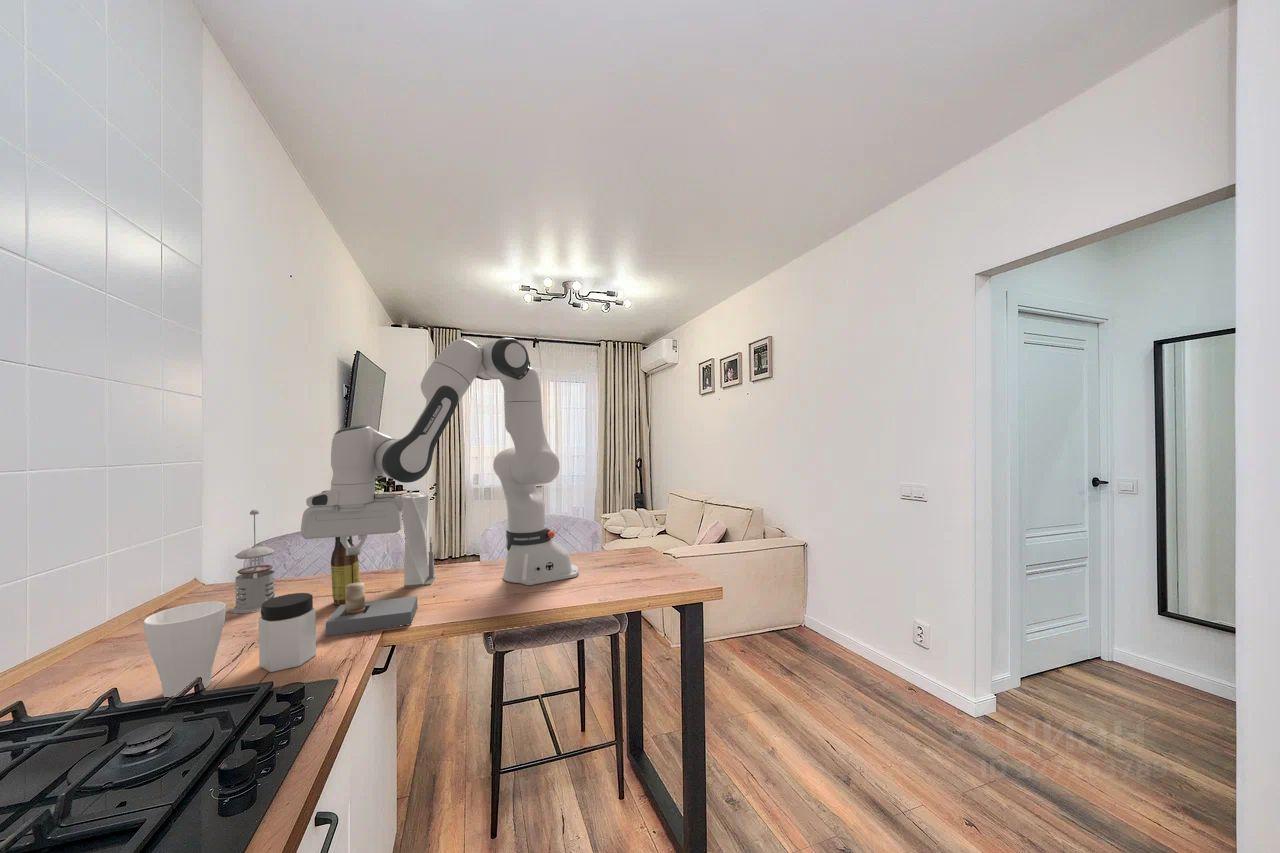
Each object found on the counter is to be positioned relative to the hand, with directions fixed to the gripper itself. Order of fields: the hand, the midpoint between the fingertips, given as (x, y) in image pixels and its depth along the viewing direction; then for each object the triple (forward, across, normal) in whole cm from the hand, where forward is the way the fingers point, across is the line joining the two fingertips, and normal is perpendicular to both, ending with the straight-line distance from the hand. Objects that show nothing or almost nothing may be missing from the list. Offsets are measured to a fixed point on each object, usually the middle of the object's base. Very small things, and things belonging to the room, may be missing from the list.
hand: (353, 554), depth 111 cm
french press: (+16, +28, -23) cm, 40 cm away
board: (+16, -4, 0) cm, 17 cm away
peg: (+16, 0, 0) cm, 16 cm away
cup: (+16, +21, +22) cm, 34 cm away
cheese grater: (+16, -10, -27) cm, 33 cm away
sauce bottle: (+16, +6, -17) cm, 24 cm away
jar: (+16, +8, +16) cm, 24 cm away
